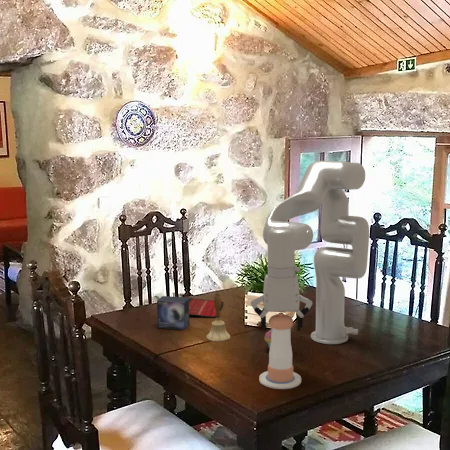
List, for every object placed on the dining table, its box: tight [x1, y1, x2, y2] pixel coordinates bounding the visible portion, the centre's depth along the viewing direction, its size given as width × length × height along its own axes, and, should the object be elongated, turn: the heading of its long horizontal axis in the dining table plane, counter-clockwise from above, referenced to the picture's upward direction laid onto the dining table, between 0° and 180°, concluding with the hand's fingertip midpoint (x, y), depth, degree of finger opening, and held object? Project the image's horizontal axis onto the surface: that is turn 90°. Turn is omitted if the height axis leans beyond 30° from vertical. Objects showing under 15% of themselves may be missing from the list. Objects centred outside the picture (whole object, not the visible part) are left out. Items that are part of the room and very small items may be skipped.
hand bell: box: [205, 291, 231, 342], centre depth 217 cm, size 8×8×16 cm
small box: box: [156, 295, 191, 331], centre depth 229 cm, size 11×6×10 cm, turn 76°
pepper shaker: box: [267, 312, 294, 382], centre depth 180 cm, size 7×7×19 cm
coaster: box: [258, 370, 302, 390], centre depth 182 cm, size 12×12×1 cm
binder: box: [188, 297, 224, 319], centre depth 250 cm, size 16×2×21 cm
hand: (281, 329), depth 180 cm, fingers open, 9 cm apart
